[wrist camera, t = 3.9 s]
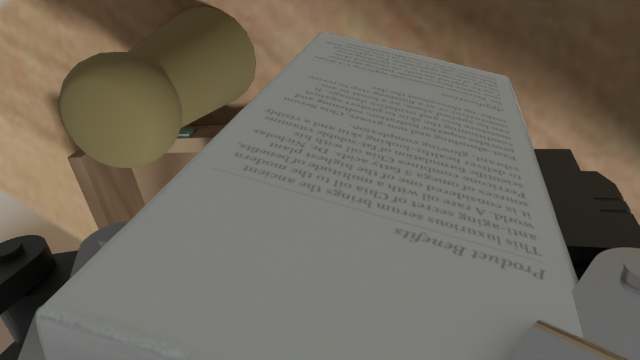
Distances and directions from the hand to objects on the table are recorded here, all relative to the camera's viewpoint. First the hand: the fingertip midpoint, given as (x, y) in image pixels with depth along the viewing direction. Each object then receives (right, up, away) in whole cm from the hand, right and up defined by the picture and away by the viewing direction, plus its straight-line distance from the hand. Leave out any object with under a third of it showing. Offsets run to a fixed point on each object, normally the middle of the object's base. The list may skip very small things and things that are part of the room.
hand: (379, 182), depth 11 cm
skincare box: (+1, +2, +4) cm, 5 cm away
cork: (-8, +8, +17) cm, 21 cm away
